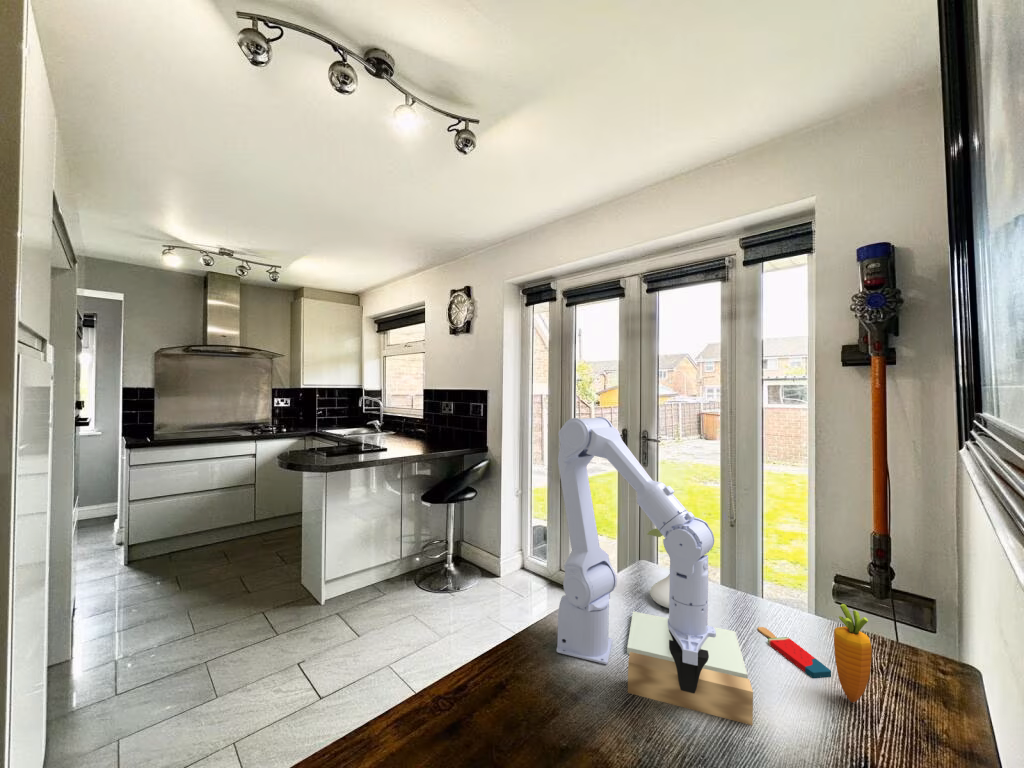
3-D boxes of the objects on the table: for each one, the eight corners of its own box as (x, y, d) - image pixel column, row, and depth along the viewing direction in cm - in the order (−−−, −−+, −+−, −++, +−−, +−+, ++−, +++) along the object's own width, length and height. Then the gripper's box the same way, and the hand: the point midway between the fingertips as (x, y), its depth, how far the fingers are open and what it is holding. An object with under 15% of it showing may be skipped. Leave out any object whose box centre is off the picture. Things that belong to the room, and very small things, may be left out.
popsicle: (770, 623, 89) (833, 670, 74) (770, 630, 88) (833, 679, 74) (750, 625, 88) (810, 672, 73) (750, 632, 88) (810, 681, 73)
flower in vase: (701, 598, 101) (703, 494, 101) (701, 621, 91) (703, 505, 91) (645, 586, 106) (646, 488, 107) (639, 607, 96) (641, 498, 96)
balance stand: (627, 653, 79) (627, 631, 79) (632, 616, 92) (633, 597, 92) (747, 681, 72) (747, 656, 72) (735, 637, 85) (735, 616, 85)
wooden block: (627, 693, 69) (628, 662, 69) (629, 681, 71) (629, 651, 71) (752, 725, 62) (753, 691, 62) (748, 711, 65) (749, 679, 65)
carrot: (879, 716, 65) (880, 618, 65) (843, 710, 66) (843, 614, 66) (859, 693, 69) (860, 602, 70) (826, 688, 70) (826, 599, 71)
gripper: (721, 626, 59) (720, 723, 59) (711, 582, 73) (710, 661, 72) (668, 615, 61) (666, 709, 61) (667, 575, 75) (666, 652, 75)
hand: (687, 683), depth 67 cm, fingers closed on wooden block, 3 cm apart
